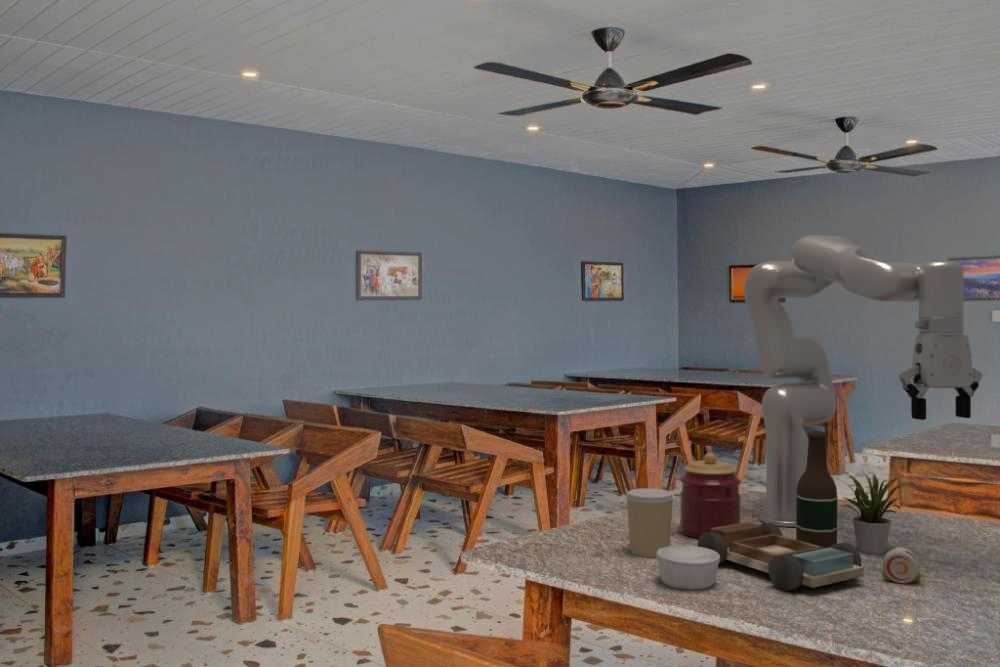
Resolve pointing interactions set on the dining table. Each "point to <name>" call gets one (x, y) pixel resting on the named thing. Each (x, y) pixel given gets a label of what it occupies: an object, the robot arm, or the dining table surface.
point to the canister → (709, 496)
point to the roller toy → (901, 566)
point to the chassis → (783, 555)
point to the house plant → (872, 515)
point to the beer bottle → (816, 497)
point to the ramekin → (688, 566)
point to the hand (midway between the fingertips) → (941, 418)
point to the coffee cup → (649, 520)
